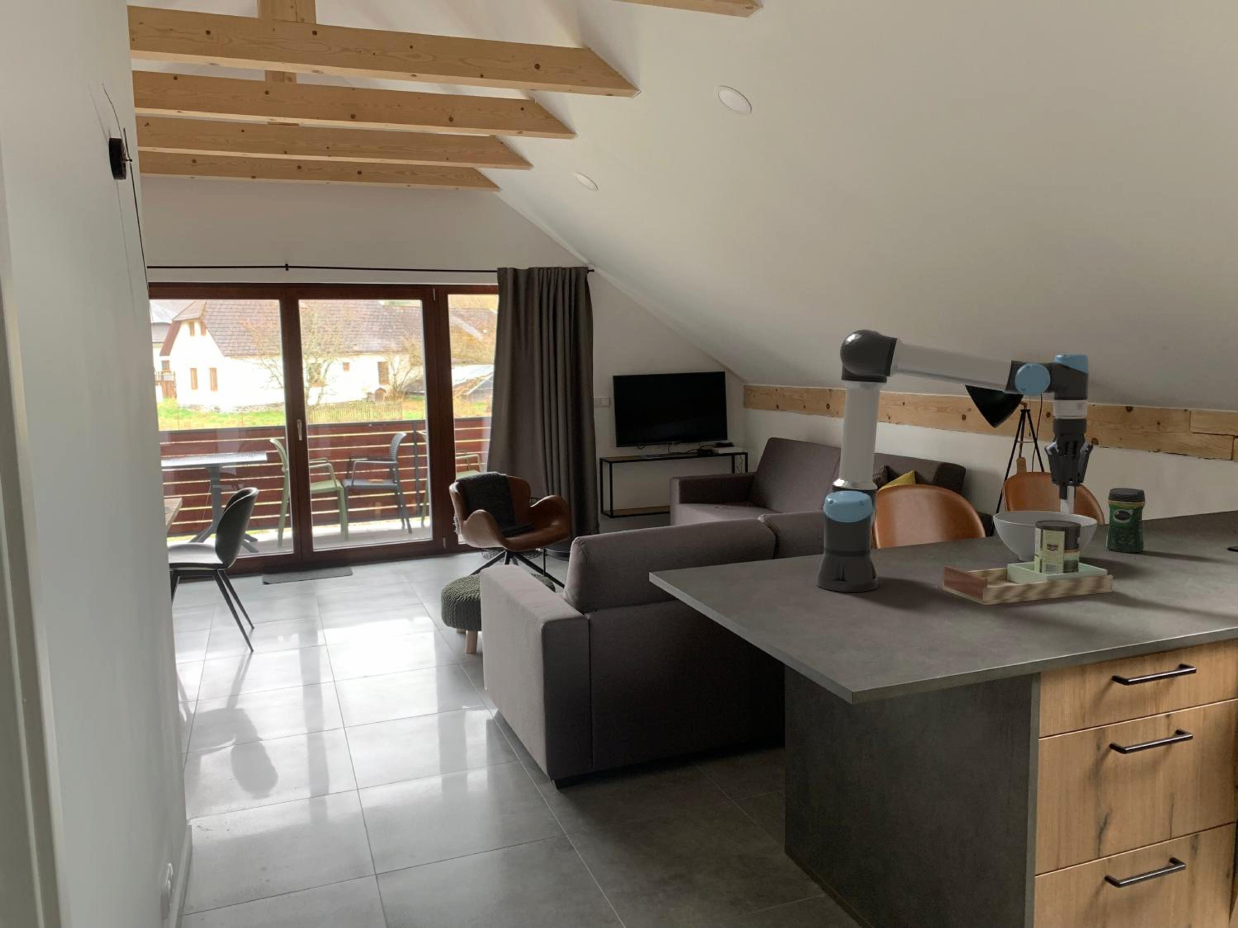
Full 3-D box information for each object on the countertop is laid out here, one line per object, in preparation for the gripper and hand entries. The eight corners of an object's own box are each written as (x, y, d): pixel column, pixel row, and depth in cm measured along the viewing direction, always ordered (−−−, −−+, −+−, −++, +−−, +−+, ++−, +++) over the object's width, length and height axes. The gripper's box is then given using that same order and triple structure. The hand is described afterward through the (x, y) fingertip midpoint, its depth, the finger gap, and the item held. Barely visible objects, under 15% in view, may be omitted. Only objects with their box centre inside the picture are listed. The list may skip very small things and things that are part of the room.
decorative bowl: (1045, 548, 279) (1046, 508, 278) (1118, 566, 254) (1120, 522, 252) (971, 554, 270) (972, 514, 269) (1039, 574, 245) (1041, 529, 244)
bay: (984, 605, 216) (985, 579, 215) (941, 589, 231) (942, 565, 230) (1112, 591, 226) (1113, 567, 226) (1063, 577, 242) (1064, 554, 241)
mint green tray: (1046, 592, 222) (1046, 575, 221) (1007, 579, 235) (1007, 564, 234) (1106, 585, 227) (1107, 569, 227) (1064, 573, 240) (1065, 558, 240)
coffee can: (1072, 574, 235) (1074, 519, 233) (1083, 584, 225) (1086, 527, 223) (1028, 573, 237) (1030, 519, 235) (1038, 582, 227) (1040, 526, 225)
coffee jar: (1146, 550, 274) (1149, 488, 272) (1138, 554, 268) (1141, 491, 266) (1110, 546, 280) (1113, 485, 278) (1102, 550, 275) (1105, 488, 273)
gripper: (1059, 419, 222) (1056, 516, 224) (1103, 417, 225) (1100, 512, 228) (1036, 417, 229) (1034, 511, 231) (1080, 415, 232) (1076, 508, 235)
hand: (1066, 512), depth 229 cm, fingers closed
